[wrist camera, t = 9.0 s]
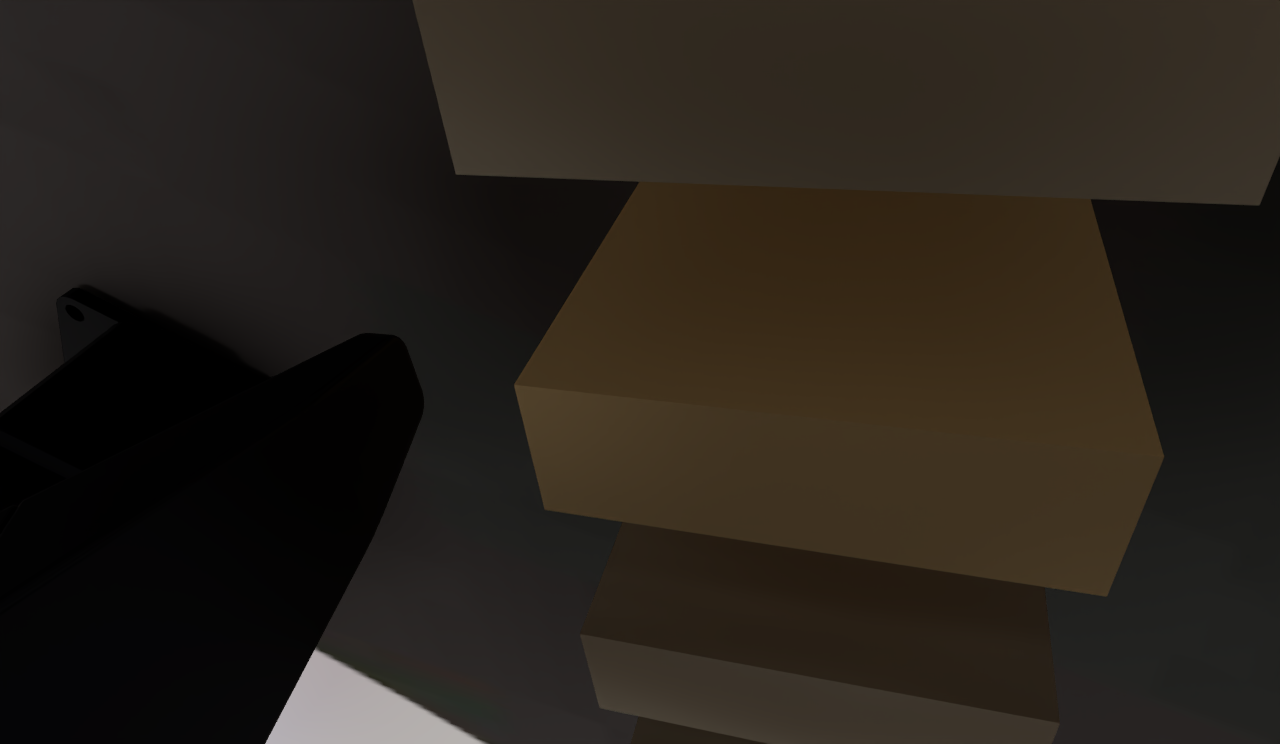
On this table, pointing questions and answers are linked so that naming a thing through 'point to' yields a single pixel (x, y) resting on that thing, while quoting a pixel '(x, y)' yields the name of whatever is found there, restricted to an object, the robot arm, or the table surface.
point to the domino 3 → (816, 645)
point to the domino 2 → (852, 380)
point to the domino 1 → (867, 94)
